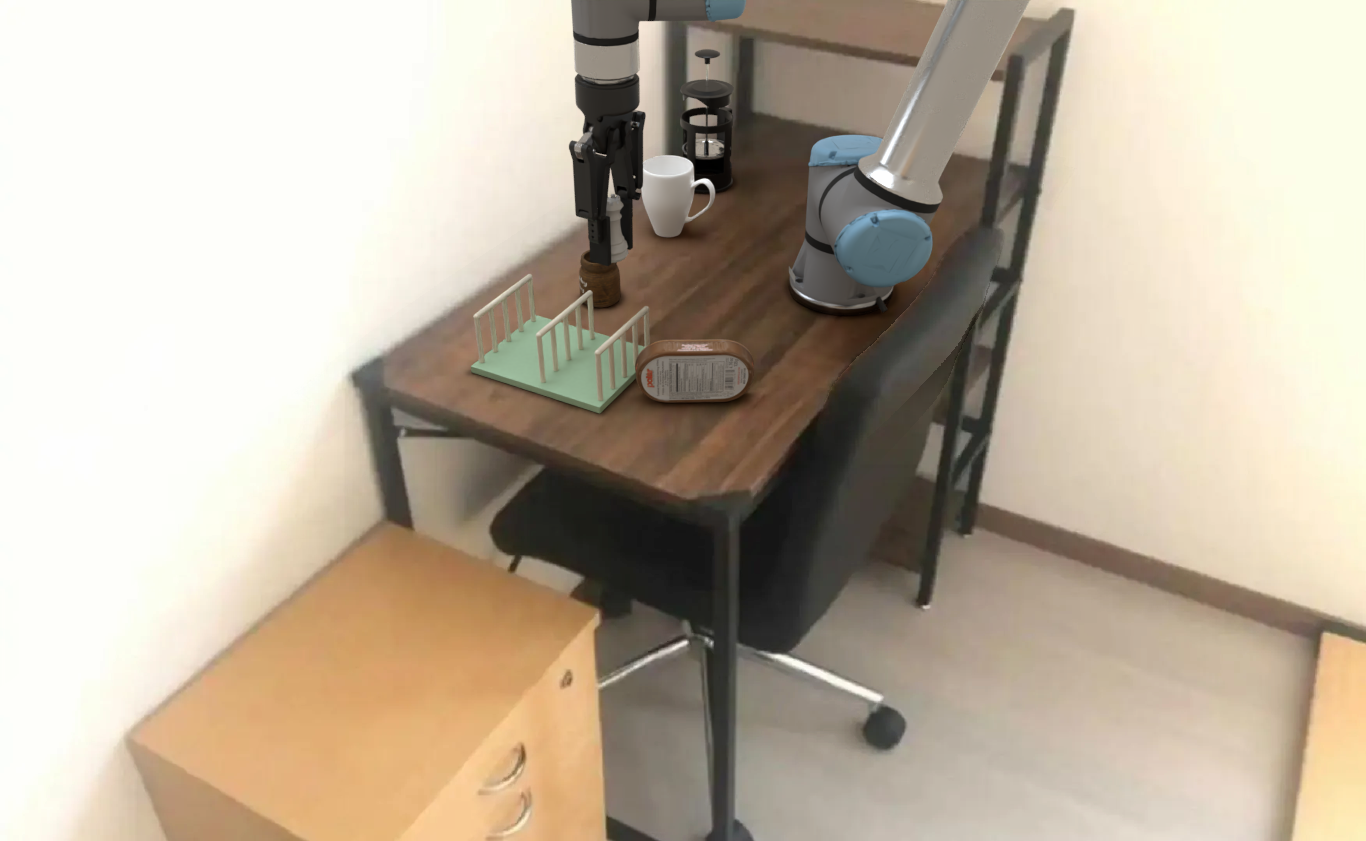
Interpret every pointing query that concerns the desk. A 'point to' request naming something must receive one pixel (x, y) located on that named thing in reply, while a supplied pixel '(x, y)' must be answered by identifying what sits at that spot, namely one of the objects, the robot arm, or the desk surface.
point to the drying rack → (560, 353)
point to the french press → (709, 129)
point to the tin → (694, 370)
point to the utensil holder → (599, 281)
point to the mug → (670, 193)
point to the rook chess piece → (616, 229)
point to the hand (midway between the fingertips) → (611, 254)
